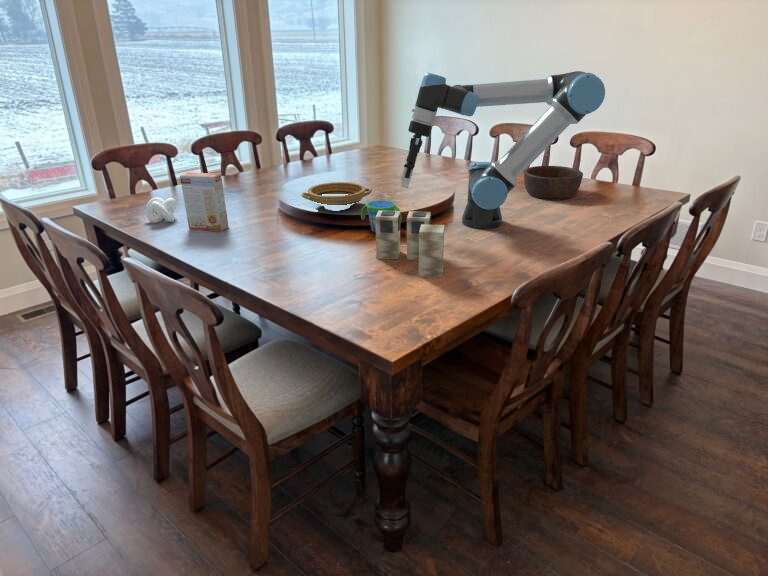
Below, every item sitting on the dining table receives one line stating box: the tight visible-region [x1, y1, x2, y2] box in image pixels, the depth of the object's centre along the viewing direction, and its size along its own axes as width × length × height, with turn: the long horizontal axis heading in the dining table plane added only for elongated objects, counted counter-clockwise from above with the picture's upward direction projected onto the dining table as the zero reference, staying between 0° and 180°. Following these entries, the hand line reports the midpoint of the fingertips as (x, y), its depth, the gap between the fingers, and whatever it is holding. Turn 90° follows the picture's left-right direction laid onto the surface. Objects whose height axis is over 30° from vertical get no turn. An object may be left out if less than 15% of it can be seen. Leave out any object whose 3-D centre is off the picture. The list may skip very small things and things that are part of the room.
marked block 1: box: [406, 210, 432, 261], centre depth 178 cm, size 7×7×14 cm
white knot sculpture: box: [145, 197, 178, 224], centre depth 219 cm, size 11×12×9 cm
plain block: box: [418, 224, 445, 278], centre depth 166 cm, size 7×7×14 cm
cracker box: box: [179, 172, 229, 232], centre depth 207 cm, size 14×6×21 cm, turn 74°
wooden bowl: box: [523, 165, 584, 201], centre depth 245 cm, size 25×25×10 cm
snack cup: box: [360, 199, 403, 233], centre depth 203 cm, size 16×10×10 cm
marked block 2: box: [375, 210, 401, 260], centre depth 180 cm, size 7×7×14 cm
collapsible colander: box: [300, 181, 372, 205], centre depth 232 cm, size 30×24×8 cm
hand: (404, 184), depth 191 cm, fingers open, 13 cm apart
